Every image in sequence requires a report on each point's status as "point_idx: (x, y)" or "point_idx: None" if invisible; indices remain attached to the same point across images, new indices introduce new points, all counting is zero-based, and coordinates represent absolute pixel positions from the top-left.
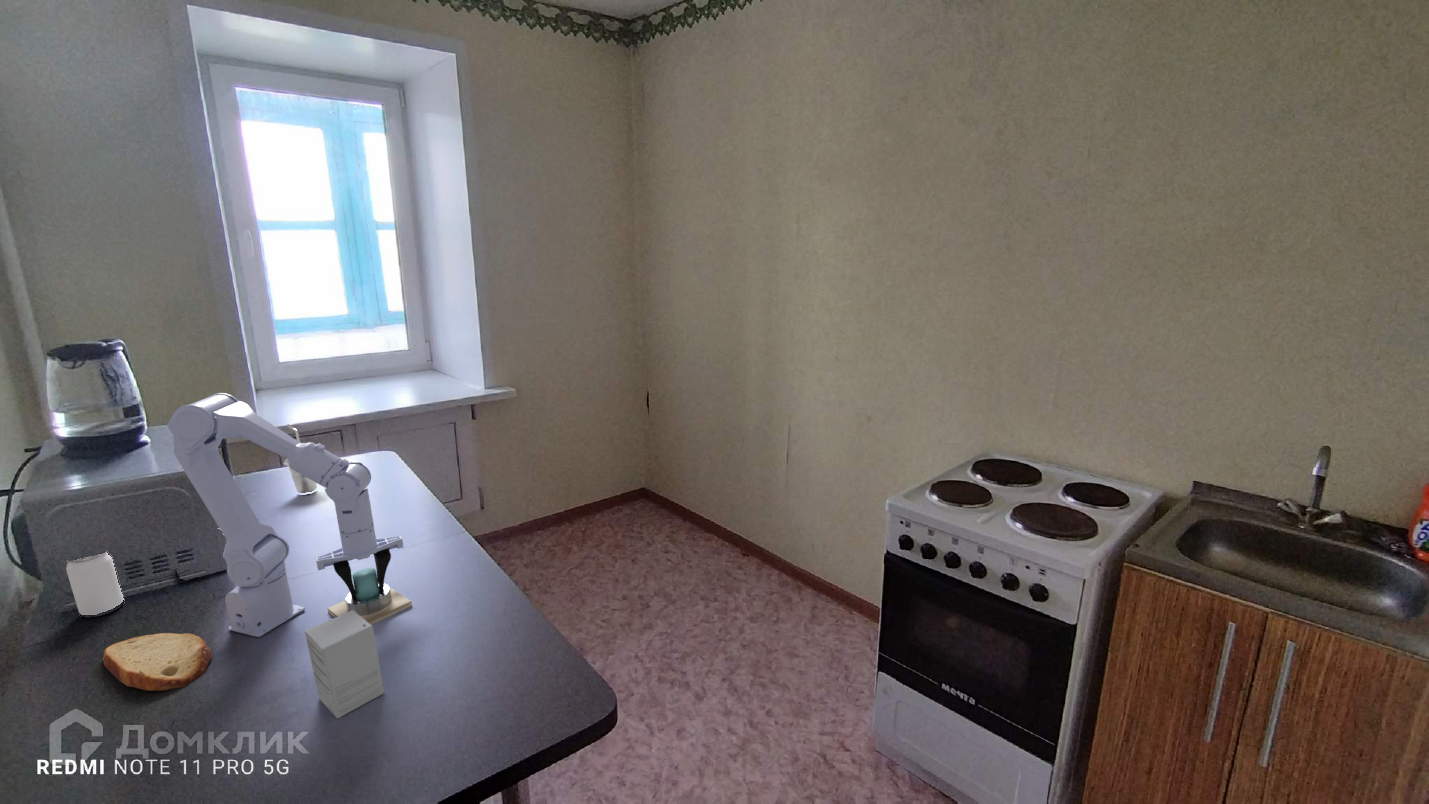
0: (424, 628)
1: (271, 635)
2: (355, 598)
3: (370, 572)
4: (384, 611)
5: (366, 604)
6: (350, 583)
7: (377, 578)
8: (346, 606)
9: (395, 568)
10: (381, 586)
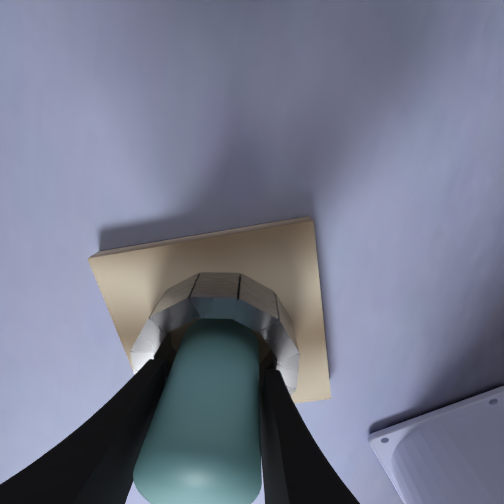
0: (74, 29)
1: (480, 373)
2: None
3: (164, 470)
4: (189, 256)
5: (241, 297)
6: (290, 433)
7: None
8: None
9: None
10: (153, 364)
